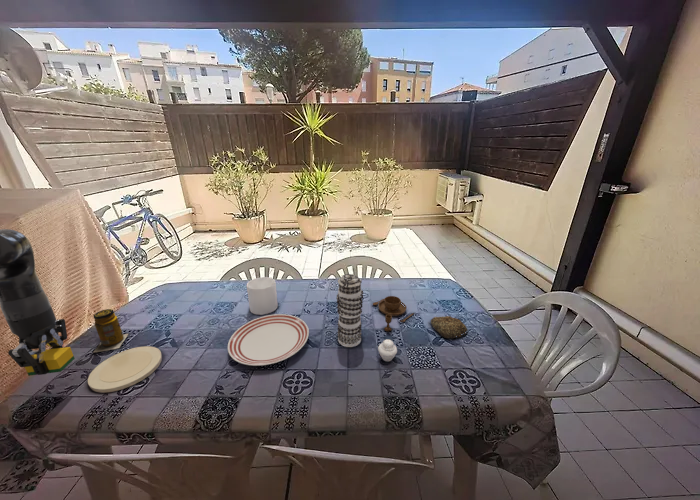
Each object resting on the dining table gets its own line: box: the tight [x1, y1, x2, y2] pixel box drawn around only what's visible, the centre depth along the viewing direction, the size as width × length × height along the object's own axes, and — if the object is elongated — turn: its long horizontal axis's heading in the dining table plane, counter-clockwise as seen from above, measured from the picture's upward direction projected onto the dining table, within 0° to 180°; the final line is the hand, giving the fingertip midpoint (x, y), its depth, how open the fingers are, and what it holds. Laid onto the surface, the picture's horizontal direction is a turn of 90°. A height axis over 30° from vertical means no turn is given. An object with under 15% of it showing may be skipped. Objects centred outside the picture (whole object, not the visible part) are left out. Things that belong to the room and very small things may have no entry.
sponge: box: [24, 346, 75, 377], centre depth 72 cm, size 7×5×4 cm
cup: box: [246, 276, 279, 316], centre depth 116 cm, size 12×12×12 cm
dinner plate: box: [227, 313, 310, 367], centre depth 96 cm, size 27×27×3 cm
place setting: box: [372, 295, 414, 333], centre depth 113 cm, size 18×20×6 cm
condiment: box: [92, 308, 129, 353], centre depth 94 cm, size 7×8×12 cm
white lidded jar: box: [377, 338, 398, 362], centre depth 88 cm, size 6×6×7 cm
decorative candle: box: [336, 273, 364, 348], centre depth 94 cm, size 9×9×25 cm
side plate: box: [87, 345, 163, 394], centre depth 84 cm, size 18×18×1 cm
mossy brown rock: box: [430, 315, 468, 339], centre depth 104 cm, size 13×12×5 cm
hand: (52, 365), depth 72 cm, fingers closed on sponge, 5 cm apart
